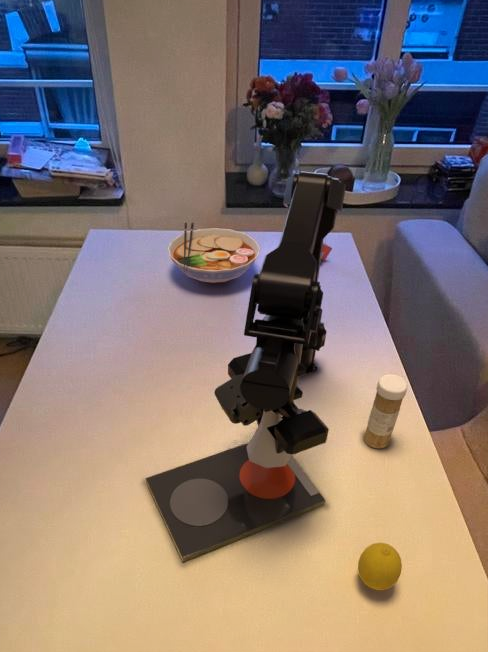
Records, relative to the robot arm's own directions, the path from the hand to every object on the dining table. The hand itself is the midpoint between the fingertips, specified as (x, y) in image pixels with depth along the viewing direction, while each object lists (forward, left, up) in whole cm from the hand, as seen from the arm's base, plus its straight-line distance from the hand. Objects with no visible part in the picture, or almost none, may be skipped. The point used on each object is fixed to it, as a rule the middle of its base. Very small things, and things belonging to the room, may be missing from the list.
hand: (270, 439), depth 79 cm
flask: (0, 0, -3) cm, 3 cm away
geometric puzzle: (-48, -61, -10) cm, 78 cm away
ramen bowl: (-20, -65, -10) cm, 69 cm away
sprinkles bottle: (-22, 0, -10) cm, 24 cm away
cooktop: (+6, 0, -10) cm, 11 cm away
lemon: (-5, +22, -10) cm, 25 cm away
